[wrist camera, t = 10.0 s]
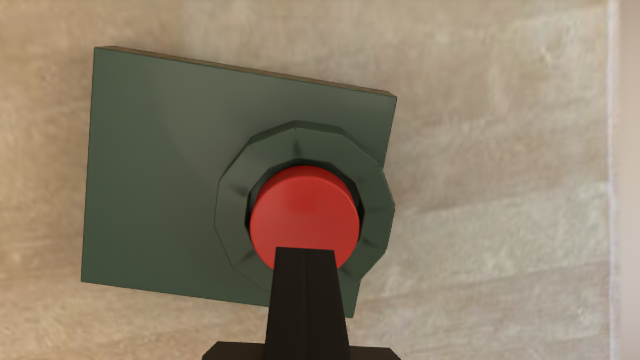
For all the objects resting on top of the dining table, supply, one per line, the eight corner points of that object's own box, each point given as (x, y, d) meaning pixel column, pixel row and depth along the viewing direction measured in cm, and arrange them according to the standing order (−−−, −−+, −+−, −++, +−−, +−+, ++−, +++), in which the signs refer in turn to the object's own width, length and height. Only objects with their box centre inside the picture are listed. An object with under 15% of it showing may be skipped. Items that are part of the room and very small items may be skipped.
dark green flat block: (399, 93, 24) (418, 103, 20) (358, 297, 26) (367, 342, 22) (113, 45, 23) (74, 47, 19) (98, 261, 25) (61, 302, 21)
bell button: (363, 173, 21) (369, 185, 19) (345, 267, 22) (349, 286, 20) (261, 157, 20) (257, 168, 19) (247, 253, 21) (242, 271, 20)
